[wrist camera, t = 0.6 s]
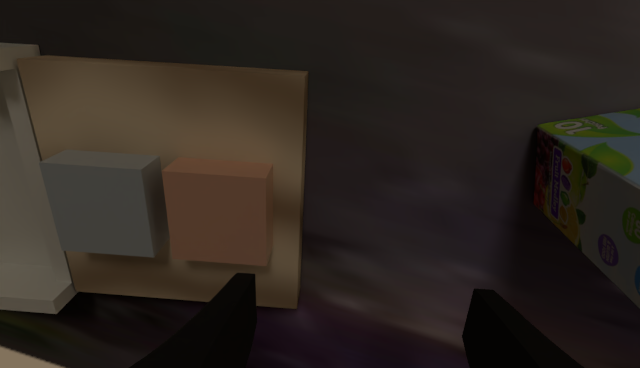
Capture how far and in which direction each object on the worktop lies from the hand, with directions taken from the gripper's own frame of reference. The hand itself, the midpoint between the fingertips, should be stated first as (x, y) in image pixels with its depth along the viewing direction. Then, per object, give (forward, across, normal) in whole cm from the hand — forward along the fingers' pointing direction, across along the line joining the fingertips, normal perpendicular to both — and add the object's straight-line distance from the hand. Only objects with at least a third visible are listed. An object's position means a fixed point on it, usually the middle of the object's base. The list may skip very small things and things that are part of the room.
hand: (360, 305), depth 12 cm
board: (+10, +10, +1) cm, 14 cm away
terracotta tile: (+8, +7, +1) cm, 11 cm away
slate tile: (+8, +13, +1) cm, 15 cm away
